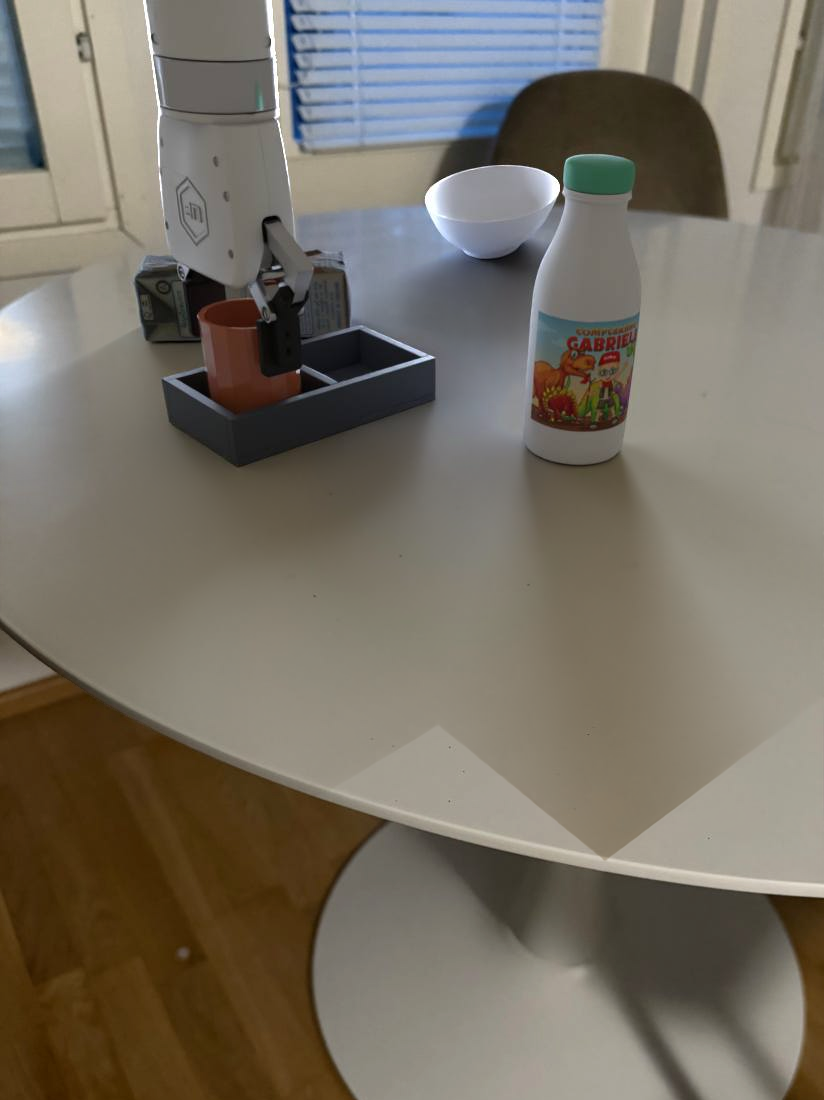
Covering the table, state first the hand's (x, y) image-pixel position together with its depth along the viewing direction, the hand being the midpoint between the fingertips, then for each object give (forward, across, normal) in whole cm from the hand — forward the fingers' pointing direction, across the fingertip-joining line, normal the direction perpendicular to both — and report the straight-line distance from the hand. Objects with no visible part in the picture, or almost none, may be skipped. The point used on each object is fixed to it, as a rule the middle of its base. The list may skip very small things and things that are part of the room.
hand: (244, 351), depth 71 cm
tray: (+6, 0, +5) cm, 8 cm away
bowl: (+6, -26, +51) cm, 57 cm away
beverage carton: (+6, -18, +12) cm, 23 cm away
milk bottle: (+6, +18, +17) cm, 26 cm away
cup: (+5, 0, 0) cm, 5 cm away
